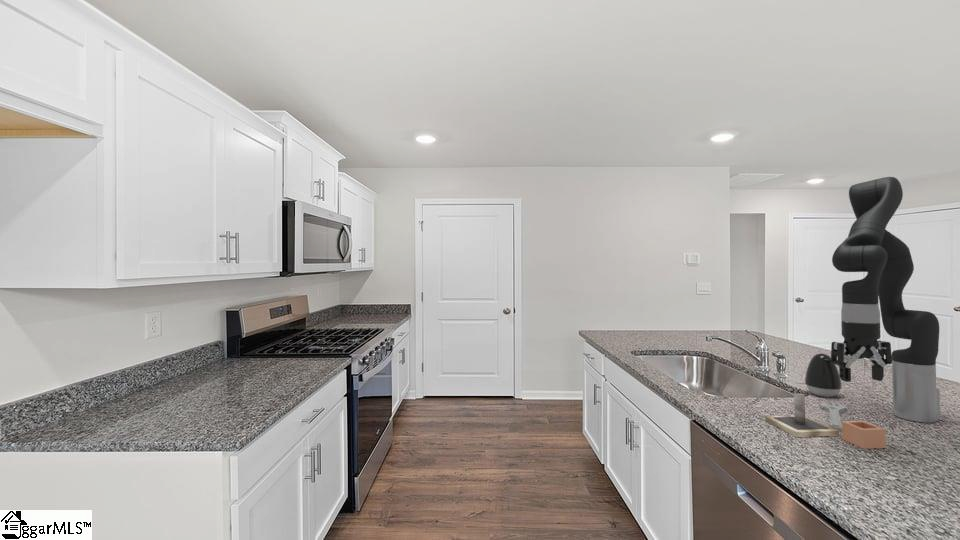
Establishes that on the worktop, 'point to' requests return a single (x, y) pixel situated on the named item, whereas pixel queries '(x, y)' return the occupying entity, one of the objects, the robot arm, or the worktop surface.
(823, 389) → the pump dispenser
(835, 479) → the worktop surface
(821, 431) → the post plate
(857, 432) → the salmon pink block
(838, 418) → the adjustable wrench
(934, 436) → the worktop surface
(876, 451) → the worktop surface
